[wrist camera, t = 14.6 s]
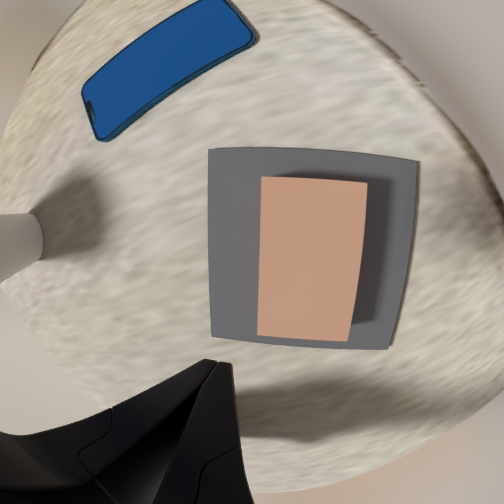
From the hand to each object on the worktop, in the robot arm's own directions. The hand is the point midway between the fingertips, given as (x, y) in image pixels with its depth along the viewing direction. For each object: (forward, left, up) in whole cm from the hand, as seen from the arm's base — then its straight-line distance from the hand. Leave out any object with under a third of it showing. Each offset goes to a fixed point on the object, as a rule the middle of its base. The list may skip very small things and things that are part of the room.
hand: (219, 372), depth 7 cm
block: (+1, 0, -10) cm, 10 cm away
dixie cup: (+1, +27, -12) cm, 30 cm away
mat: (+1, -3, -12) cm, 12 cm away
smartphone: (+16, +9, -12) cm, 22 cm away
